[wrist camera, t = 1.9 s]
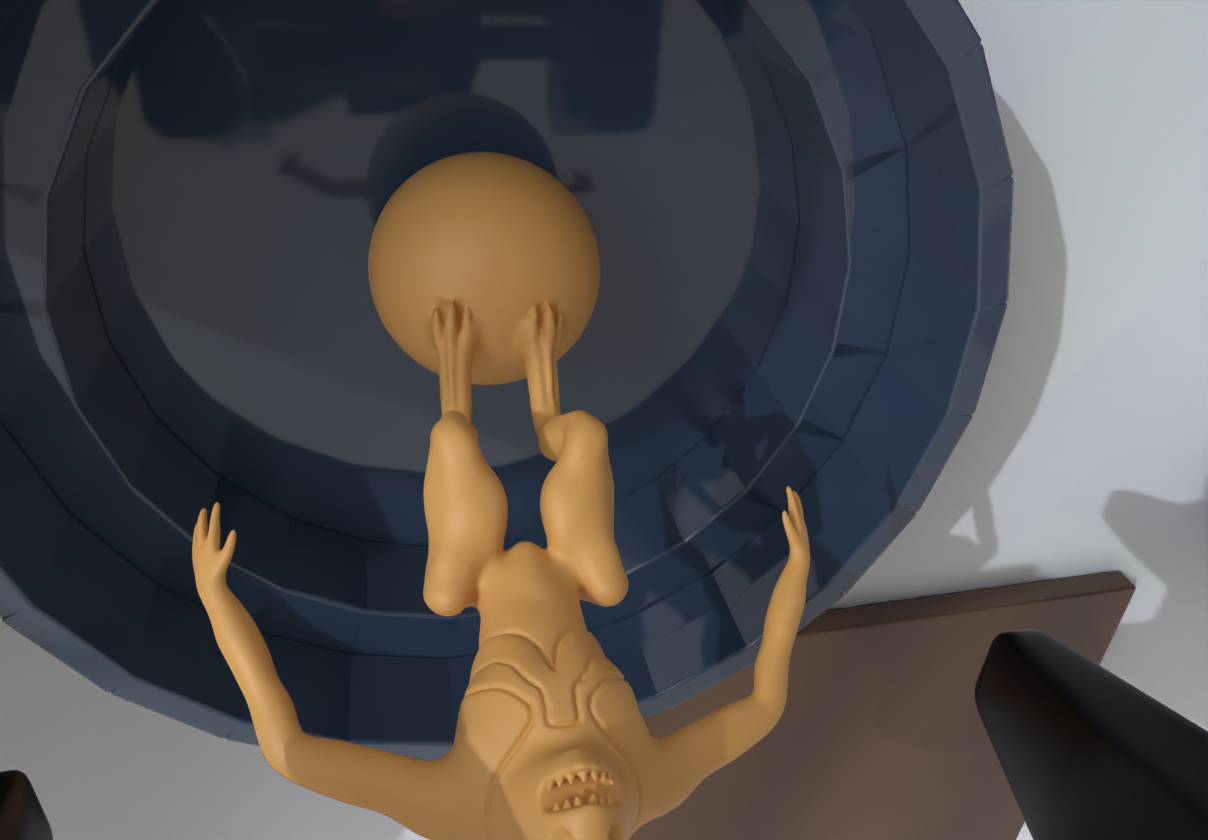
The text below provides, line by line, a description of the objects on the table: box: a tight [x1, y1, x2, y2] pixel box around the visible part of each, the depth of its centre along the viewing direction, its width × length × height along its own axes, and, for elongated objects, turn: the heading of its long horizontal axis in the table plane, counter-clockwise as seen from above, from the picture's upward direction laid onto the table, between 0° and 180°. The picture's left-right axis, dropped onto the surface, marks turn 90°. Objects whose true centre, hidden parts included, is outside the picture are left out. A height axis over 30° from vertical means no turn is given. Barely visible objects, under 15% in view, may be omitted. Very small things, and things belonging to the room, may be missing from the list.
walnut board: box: [629, 571, 1136, 840], centre depth 30 cm, size 20×13×1 cm, turn 88°
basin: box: [0, 0, 1014, 760], centre depth 16 cm, size 17×17×5 cm
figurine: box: [192, 152, 810, 840], centre depth 13 cm, size 8×6×12 cm
